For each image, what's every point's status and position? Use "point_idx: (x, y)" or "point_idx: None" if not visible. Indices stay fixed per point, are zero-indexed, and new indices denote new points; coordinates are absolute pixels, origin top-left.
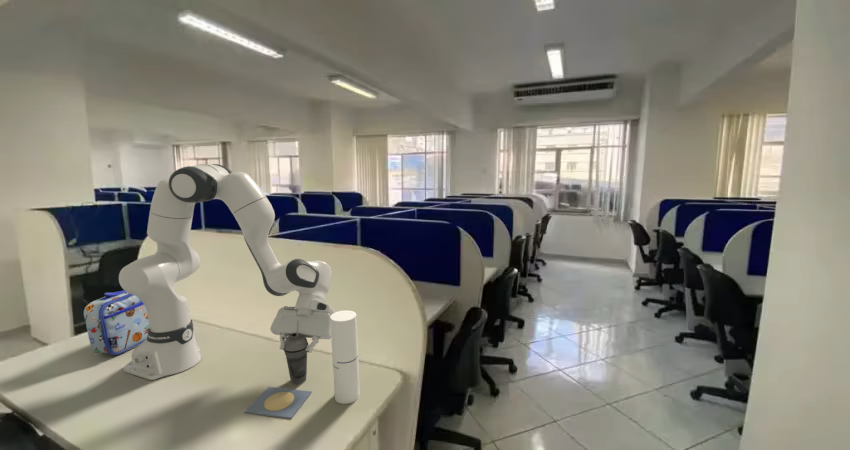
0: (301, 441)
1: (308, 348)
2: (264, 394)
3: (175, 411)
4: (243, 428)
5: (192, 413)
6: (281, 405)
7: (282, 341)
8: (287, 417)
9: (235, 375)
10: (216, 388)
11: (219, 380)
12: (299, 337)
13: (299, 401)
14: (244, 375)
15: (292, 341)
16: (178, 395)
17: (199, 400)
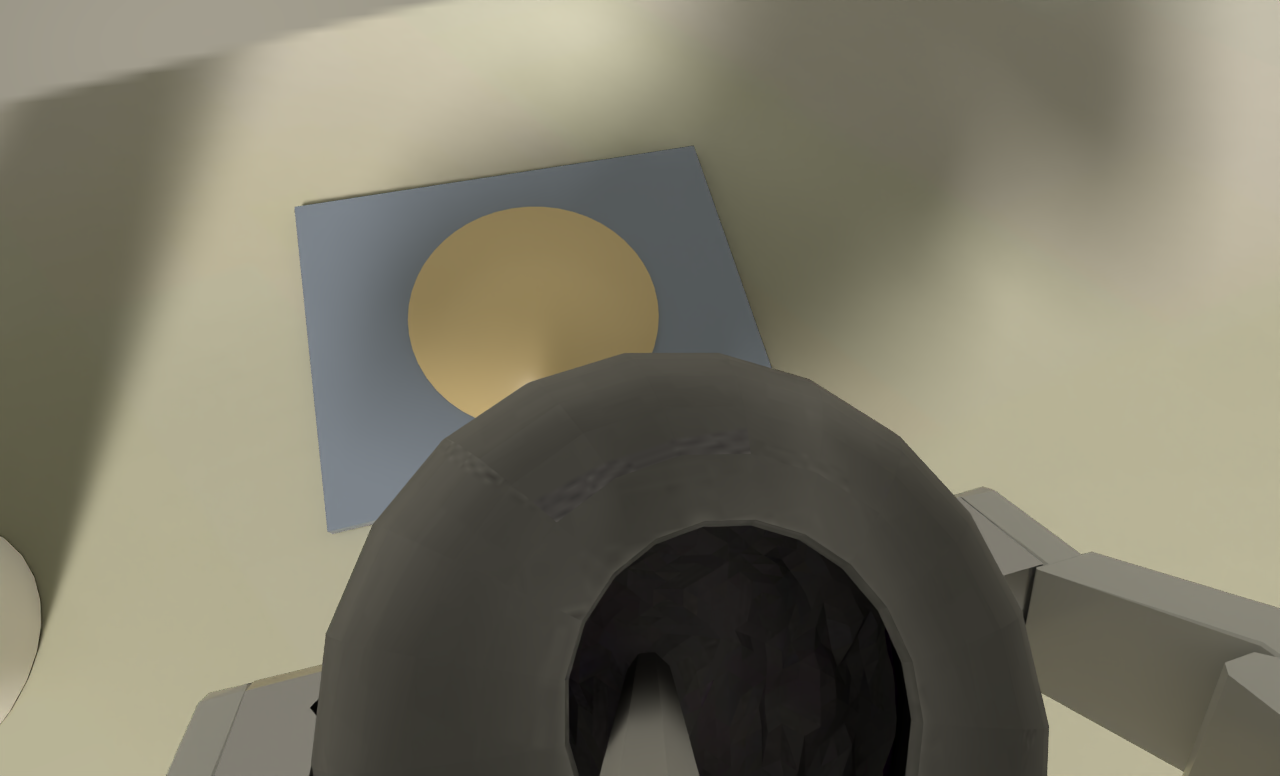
0: (89, 90)
1: (235, 719)
2: (727, 328)
3: (1092, 39)
4: (568, 61)
5: (987, 56)
6: (471, 273)
7: (1084, 578)
8: (332, 203)
9: (1220, 443)
10: (1145, 264)
11: (1243, 341)
12: (434, 662)
13: (354, 370)
14: (1156, 476)
15: (575, 393)
16: (1260, 131)
17: (1091, 142)
